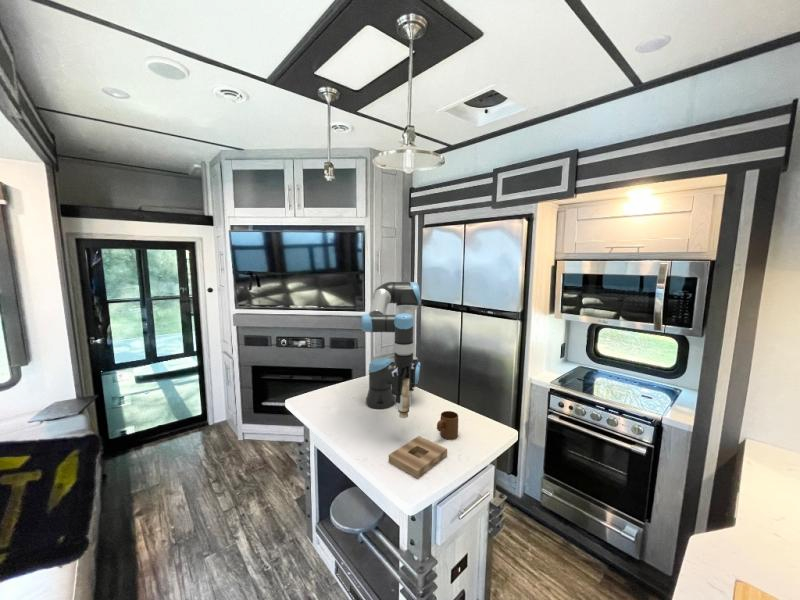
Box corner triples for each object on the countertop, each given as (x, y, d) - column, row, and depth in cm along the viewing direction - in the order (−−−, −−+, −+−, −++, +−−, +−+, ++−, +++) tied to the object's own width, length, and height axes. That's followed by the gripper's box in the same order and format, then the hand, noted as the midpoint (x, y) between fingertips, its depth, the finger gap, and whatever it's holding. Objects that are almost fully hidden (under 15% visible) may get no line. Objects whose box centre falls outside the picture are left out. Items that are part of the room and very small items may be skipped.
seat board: (418, 442, 136) (418, 435, 135) (447, 456, 126) (447, 448, 126) (388, 462, 123) (388, 454, 122) (417, 479, 113) (417, 471, 113)
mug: (444, 446, 133) (445, 424, 132) (430, 439, 138) (430, 418, 137) (461, 435, 142) (462, 414, 140) (447, 429, 147) (447, 409, 146)
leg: (403, 412, 139) (403, 375, 136) (411, 415, 136) (411, 378, 133) (395, 416, 135) (395, 379, 133) (404, 419, 132) (404, 382, 130)
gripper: (410, 346, 140) (410, 397, 144) (381, 355, 128) (382, 412, 131) (424, 349, 135) (423, 403, 139) (395, 359, 123) (395, 418, 126)
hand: (403, 407), depth 135 cm, fingers closed on leg, 4 cm apart
